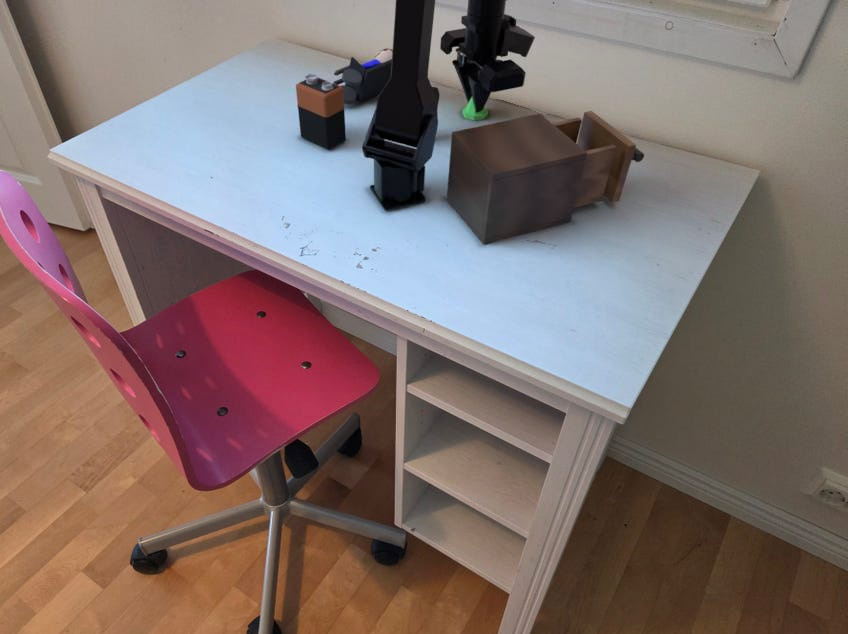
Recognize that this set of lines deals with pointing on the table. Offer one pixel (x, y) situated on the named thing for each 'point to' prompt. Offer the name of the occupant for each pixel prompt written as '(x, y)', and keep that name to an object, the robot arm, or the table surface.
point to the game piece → (474, 112)
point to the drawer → (600, 157)
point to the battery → (321, 111)
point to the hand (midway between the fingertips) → (475, 109)
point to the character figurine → (365, 77)
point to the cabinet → (513, 177)
